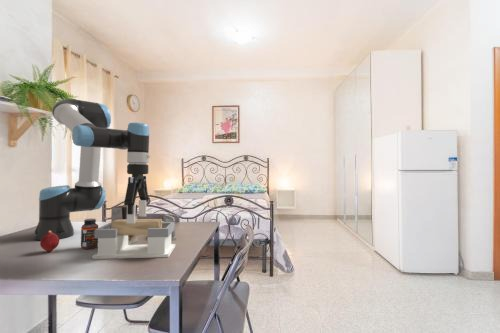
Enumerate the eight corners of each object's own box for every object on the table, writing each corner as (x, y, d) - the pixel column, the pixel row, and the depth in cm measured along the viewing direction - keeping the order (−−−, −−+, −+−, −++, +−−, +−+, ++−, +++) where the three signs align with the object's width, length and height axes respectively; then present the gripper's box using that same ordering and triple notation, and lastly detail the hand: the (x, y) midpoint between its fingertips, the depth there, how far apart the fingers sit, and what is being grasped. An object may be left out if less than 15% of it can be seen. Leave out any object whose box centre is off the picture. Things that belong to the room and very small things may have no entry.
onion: (62, 250, 105) (63, 229, 105) (47, 254, 100) (47, 233, 100) (52, 249, 107) (52, 228, 107) (36, 253, 102) (36, 231, 102)
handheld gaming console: (146, 237, 127) (146, 215, 128) (166, 234, 133) (166, 213, 133) (155, 243, 117) (155, 219, 117) (176, 240, 122) (176, 217, 122)
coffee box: (124, 247, 110) (124, 207, 110) (110, 246, 111) (110, 206, 111) (137, 241, 119) (138, 204, 119) (124, 240, 120) (124, 204, 120)
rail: (116, 232, 105) (116, 219, 105) (161, 231, 107) (161, 218, 107) (111, 235, 100) (111, 221, 100) (158, 234, 102) (158, 221, 102)
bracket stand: (109, 247, 109) (109, 222, 109) (175, 246, 112) (175, 221, 112) (92, 259, 95) (92, 230, 95) (168, 257, 98) (168, 229, 98)
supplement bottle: (85, 250, 105) (86, 221, 105) (77, 248, 108) (78, 219, 109) (101, 246, 110) (101, 218, 111) (93, 244, 114) (93, 217, 114)
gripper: (137, 163, 92) (136, 226, 92) (156, 164, 117) (155, 213, 117) (114, 163, 91) (113, 226, 91) (138, 163, 116) (137, 213, 116)
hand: (137, 219), depth 104 cm, fingers open, 13 cm apart
